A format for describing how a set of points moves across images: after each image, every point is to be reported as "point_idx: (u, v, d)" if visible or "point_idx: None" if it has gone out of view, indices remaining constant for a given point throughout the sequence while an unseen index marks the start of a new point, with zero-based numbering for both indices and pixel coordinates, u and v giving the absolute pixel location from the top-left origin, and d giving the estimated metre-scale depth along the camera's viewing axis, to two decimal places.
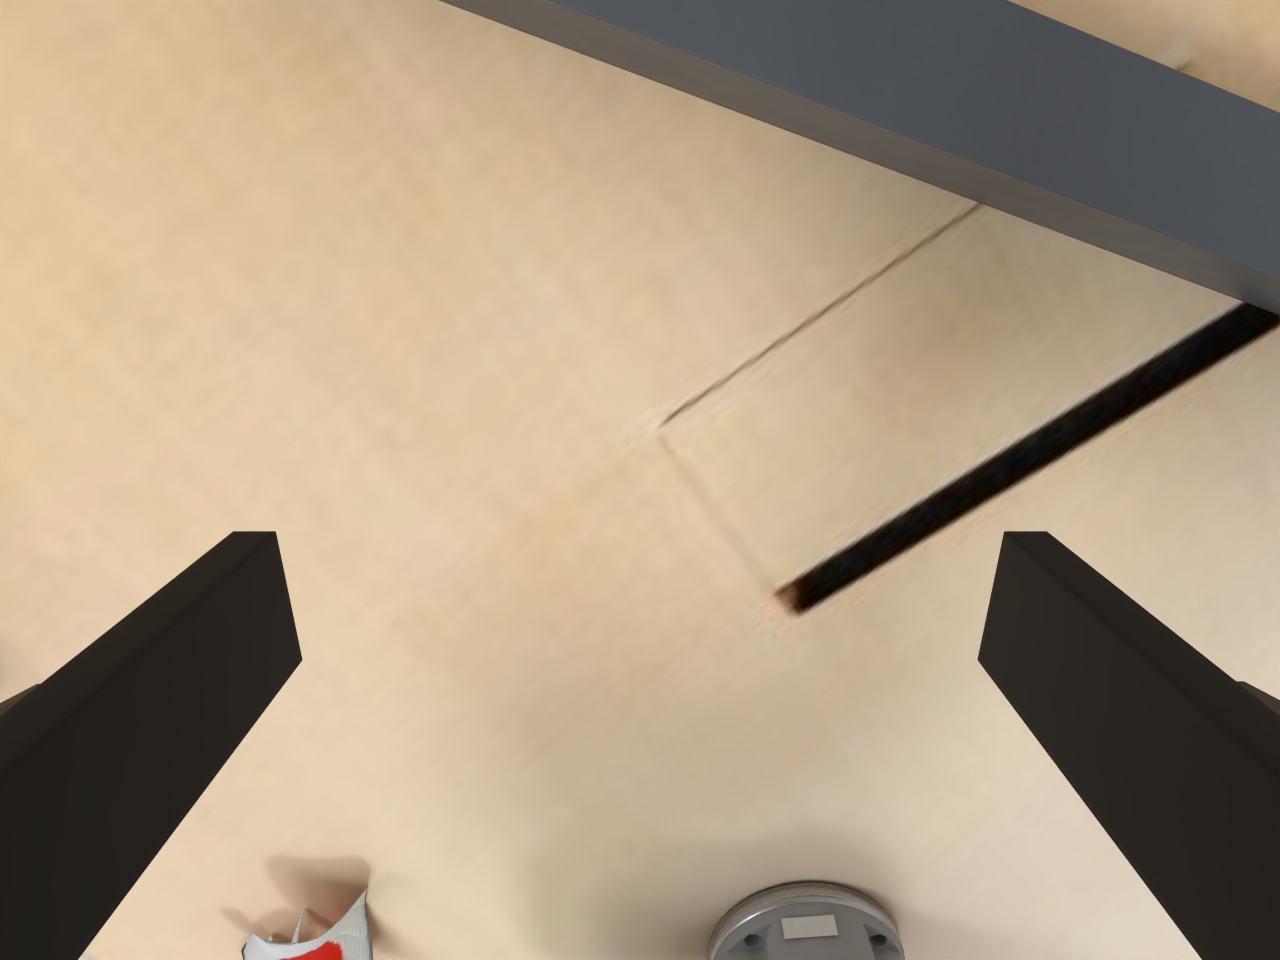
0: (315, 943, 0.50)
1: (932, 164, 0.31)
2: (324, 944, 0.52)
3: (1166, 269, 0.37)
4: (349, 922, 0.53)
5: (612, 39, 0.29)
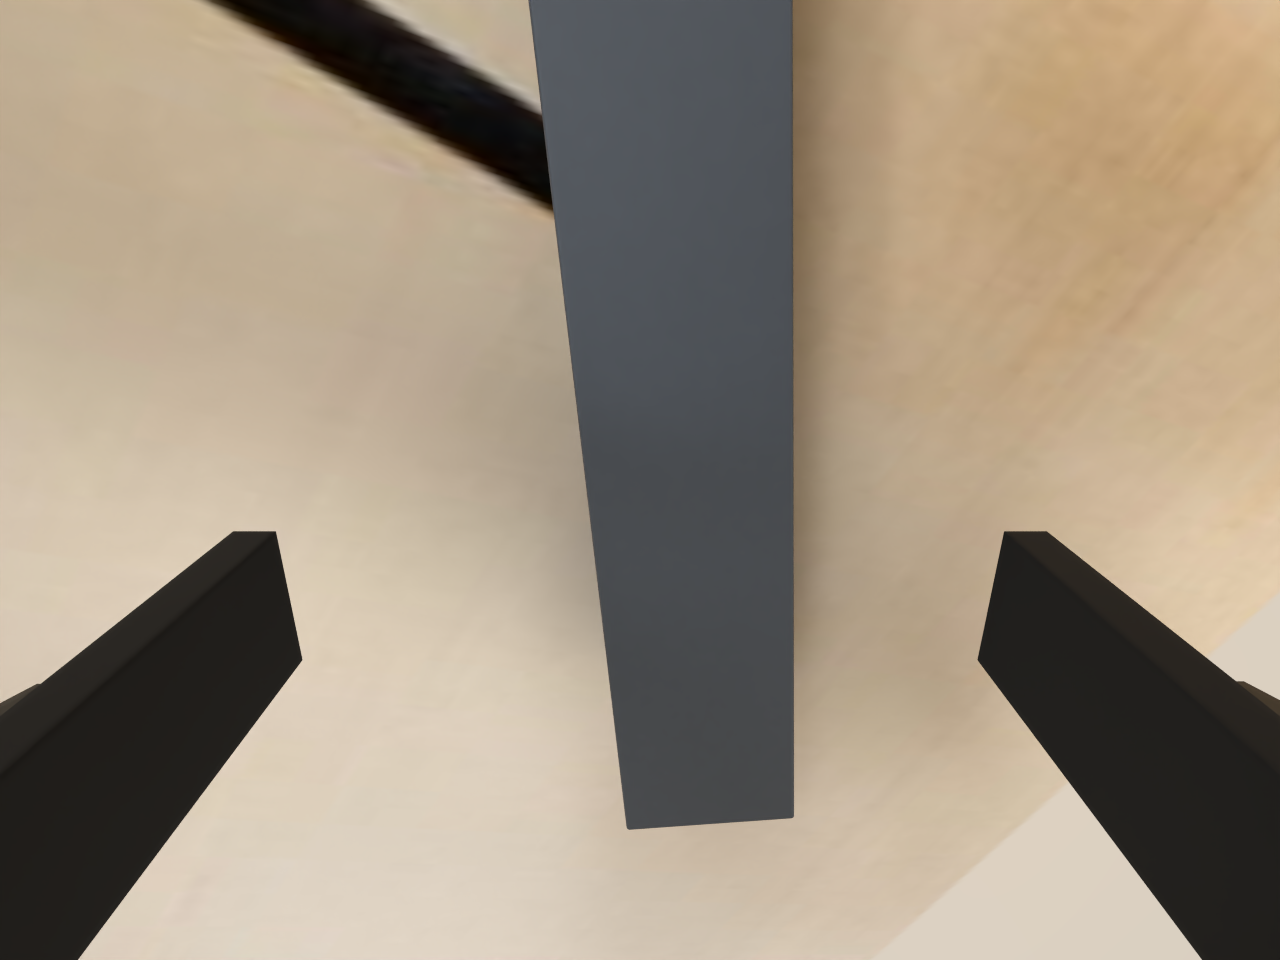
0: None
1: None
2: None
3: None
4: None
5: None
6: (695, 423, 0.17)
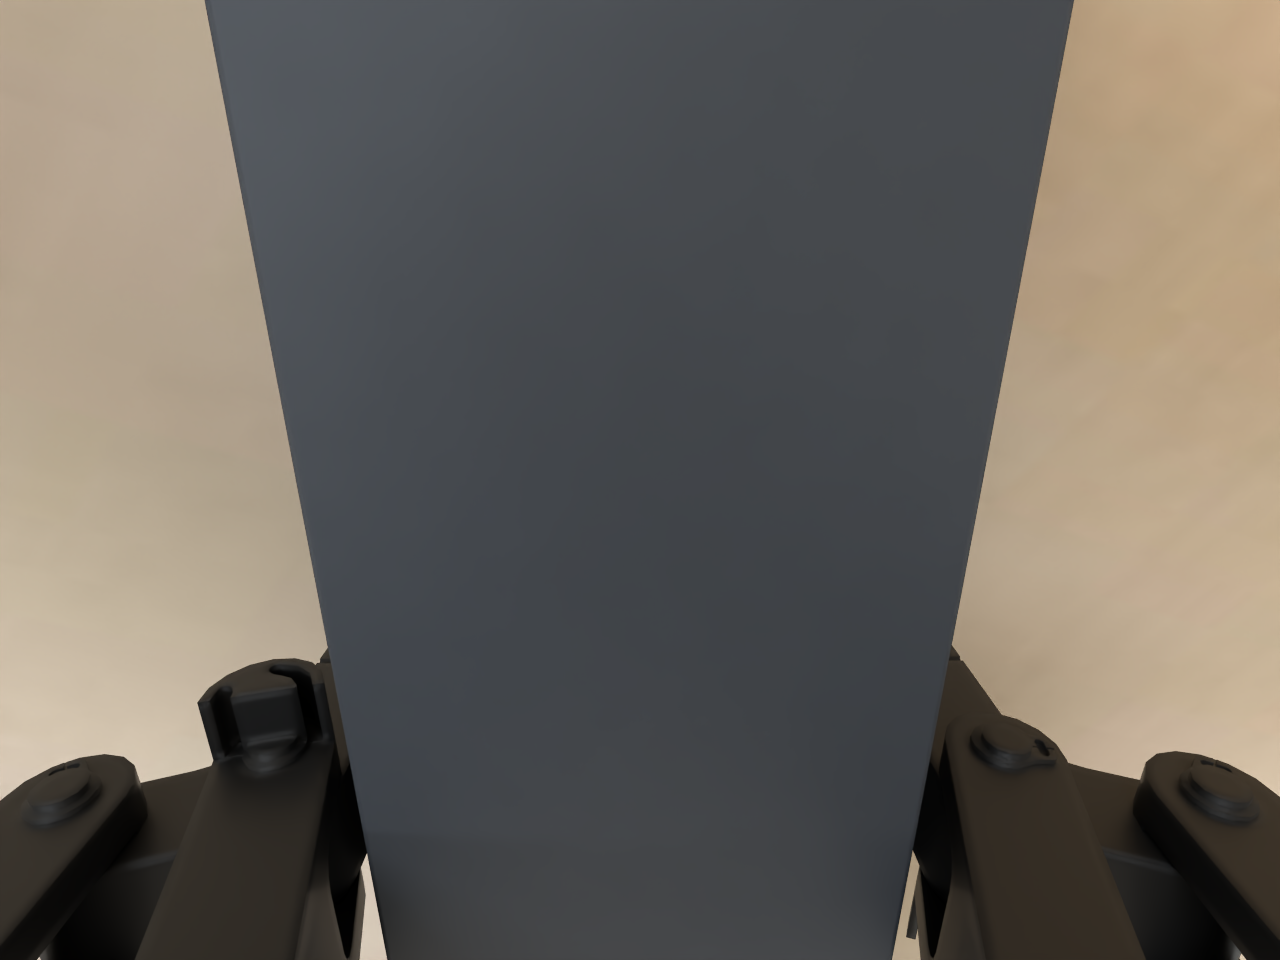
0: None
1: None
2: None
3: None
4: None
5: None
6: (672, 163, 0.05)
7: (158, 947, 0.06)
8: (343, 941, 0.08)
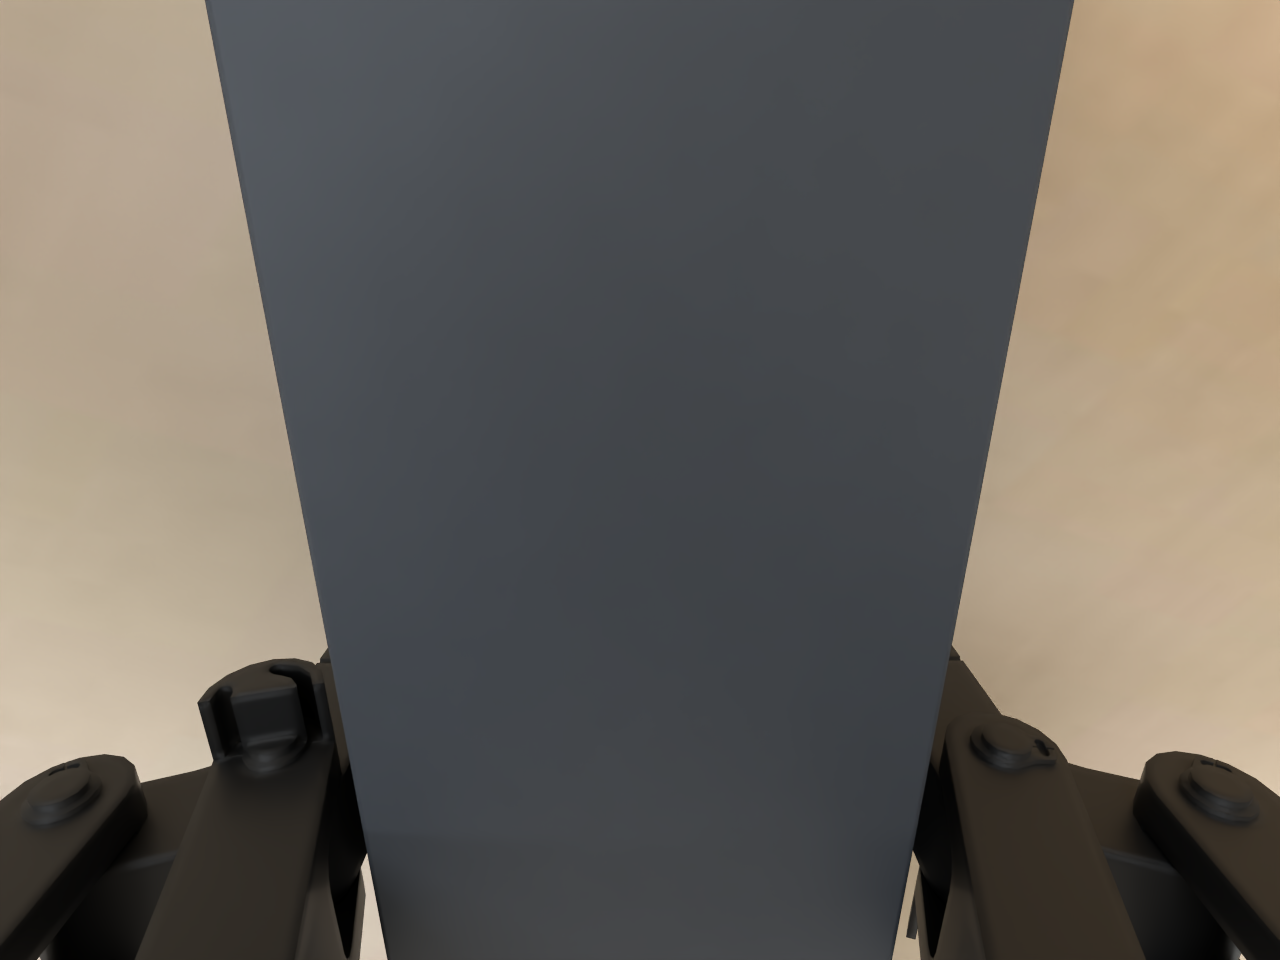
0: None
1: None
2: None
3: None
4: None
5: None
6: (672, 163, 0.05)
7: (158, 947, 0.06)
8: (343, 941, 0.08)
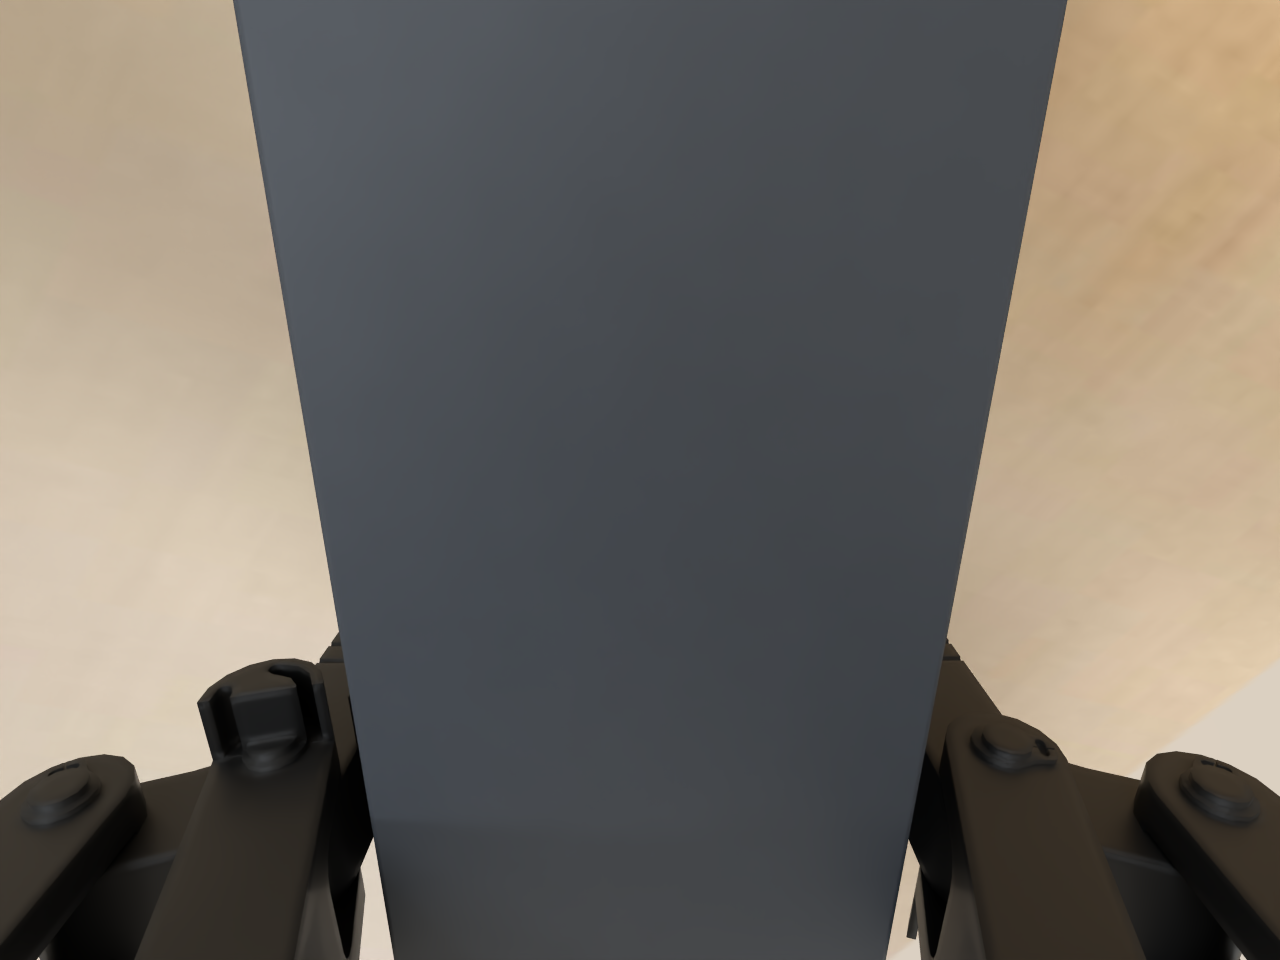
0: None
1: None
2: None
3: None
4: None
5: None
6: (680, 155, 0.05)
7: (158, 947, 0.06)
8: (343, 941, 0.08)
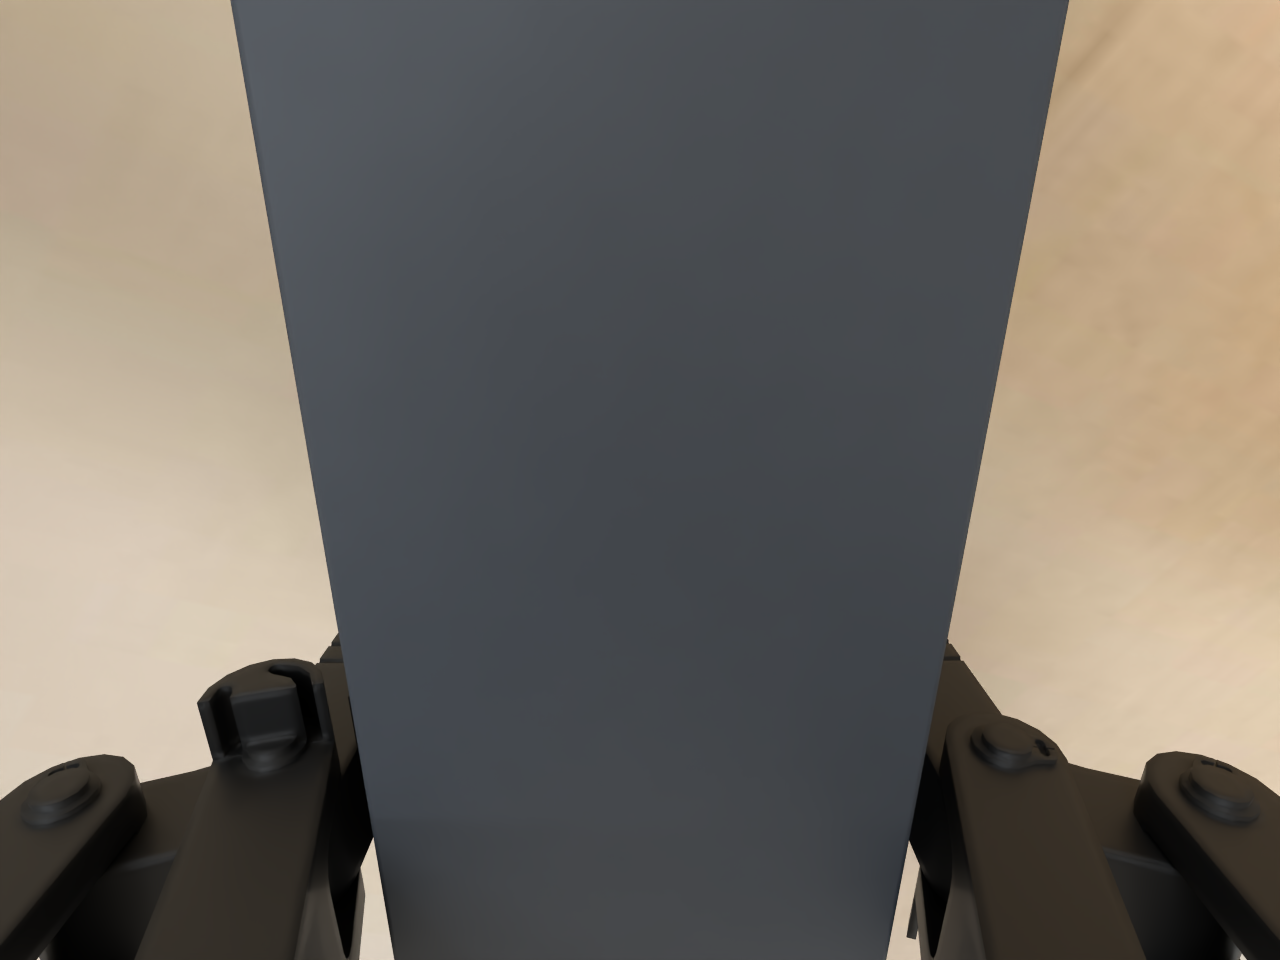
0: None
1: None
2: None
3: None
4: None
5: None
6: (678, 155, 0.05)
7: (158, 947, 0.06)
8: (343, 941, 0.08)
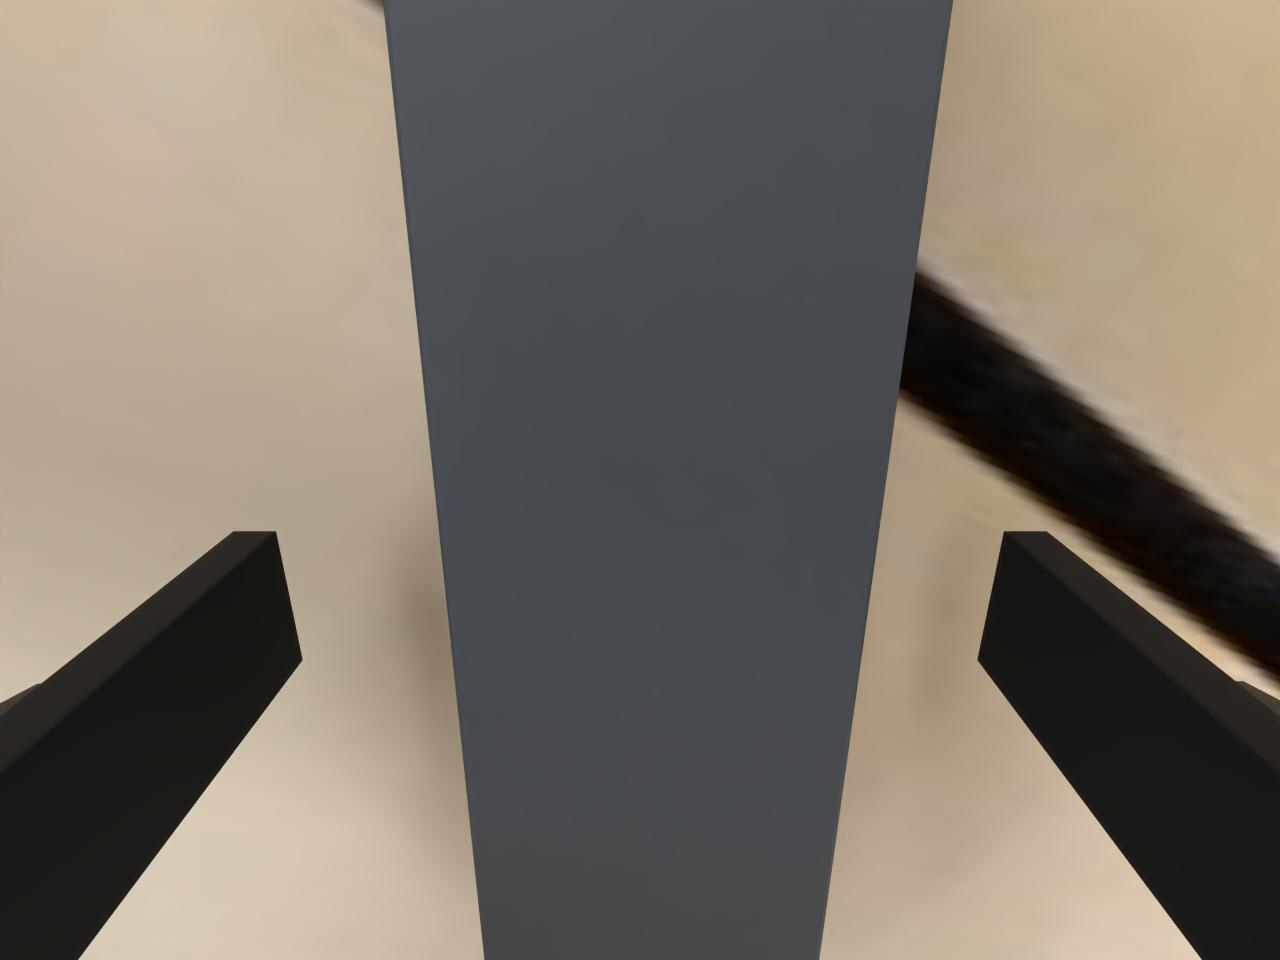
0: None
1: None
2: None
3: None
4: None
5: None
6: (685, 174, 0.07)
7: None
8: None
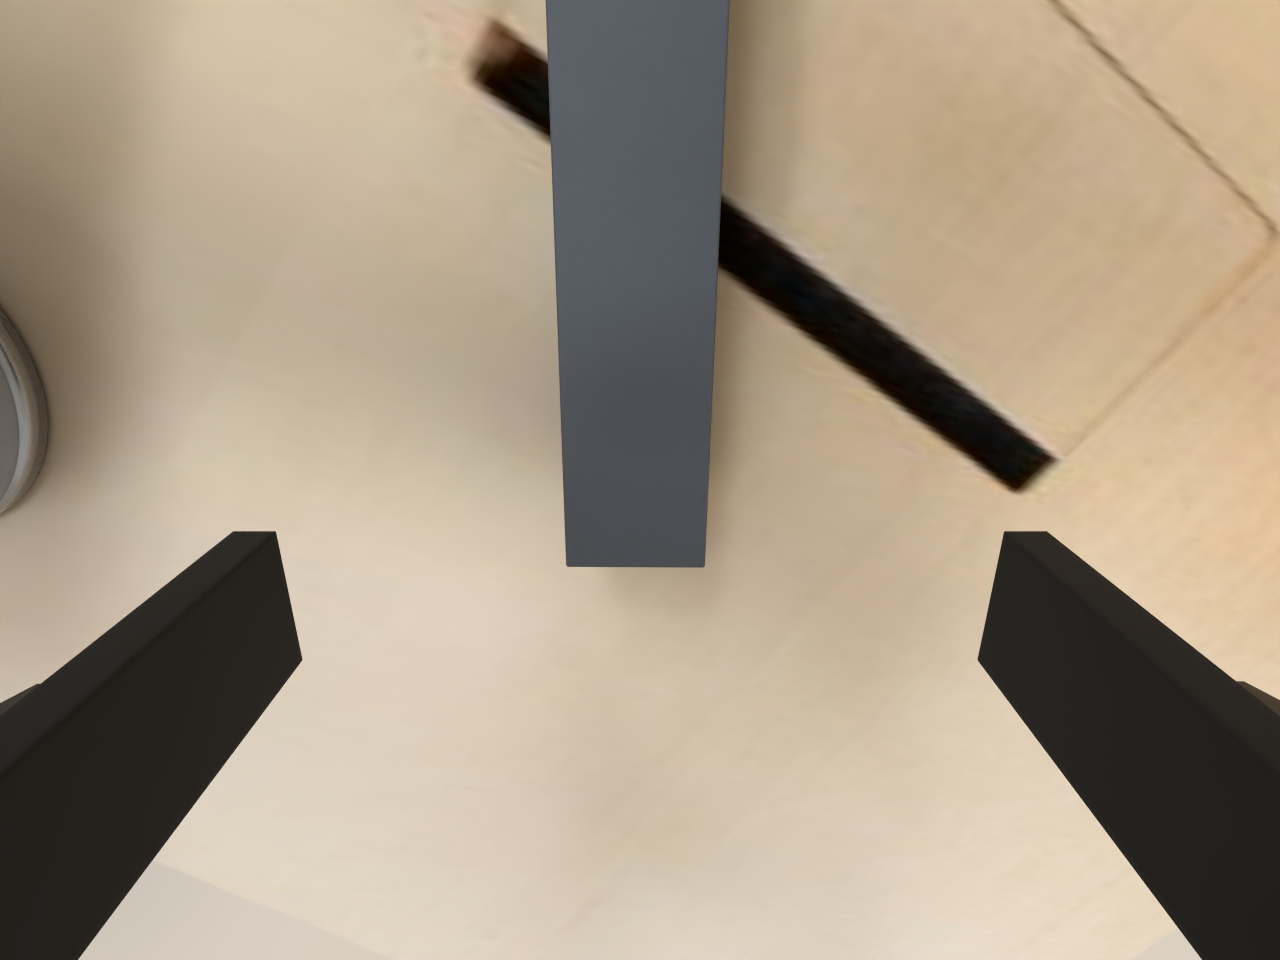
0: None
1: None
2: None
3: None
4: None
5: None
6: (643, 193, 0.22)
7: None
8: None
